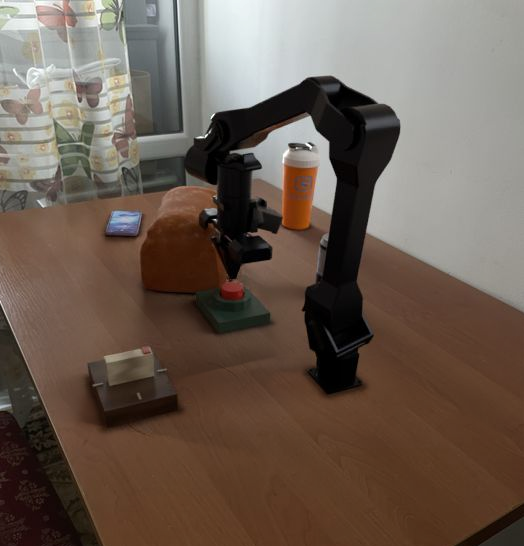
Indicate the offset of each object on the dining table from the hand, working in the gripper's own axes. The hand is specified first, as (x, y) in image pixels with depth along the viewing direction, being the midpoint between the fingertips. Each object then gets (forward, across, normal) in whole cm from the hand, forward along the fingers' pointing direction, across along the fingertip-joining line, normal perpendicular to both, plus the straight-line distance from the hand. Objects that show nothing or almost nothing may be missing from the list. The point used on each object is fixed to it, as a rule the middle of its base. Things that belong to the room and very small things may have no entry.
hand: (232, 278), depth 98 cm
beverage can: (+7, 0, -21) cm, 22 cm away
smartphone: (+7, +49, +8) cm, 50 cm away
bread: (+7, +21, +1) cm, 22 cm away
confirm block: (+7, 0, 0) cm, 7 cm away
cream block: (+4, -17, +23) cm, 29 cm away
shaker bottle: (+7, +36, -33) cm, 49 cm away
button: (+3, 0, 0) cm, 3 cm away
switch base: (+7, -17, +23) cm, 29 cm away
